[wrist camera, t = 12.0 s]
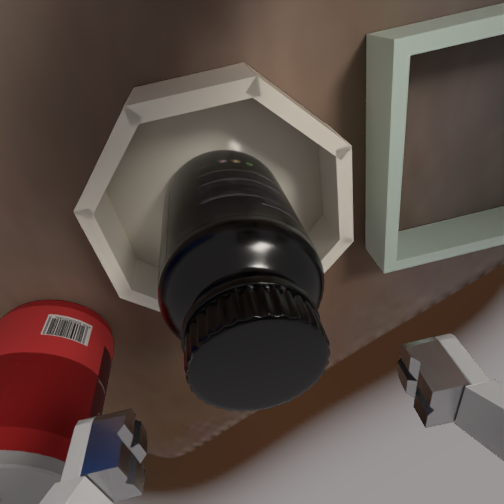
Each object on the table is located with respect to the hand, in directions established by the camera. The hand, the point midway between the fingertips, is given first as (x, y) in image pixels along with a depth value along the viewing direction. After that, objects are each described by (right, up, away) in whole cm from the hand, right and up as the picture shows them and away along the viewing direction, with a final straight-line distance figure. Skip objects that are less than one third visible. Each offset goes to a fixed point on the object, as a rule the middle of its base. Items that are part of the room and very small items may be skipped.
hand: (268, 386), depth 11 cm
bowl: (-2, +8, +11) cm, 14 cm away
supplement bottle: (-2, +7, +11) cm, 13 cm away
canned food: (-15, -2, +16) cm, 22 cm away
